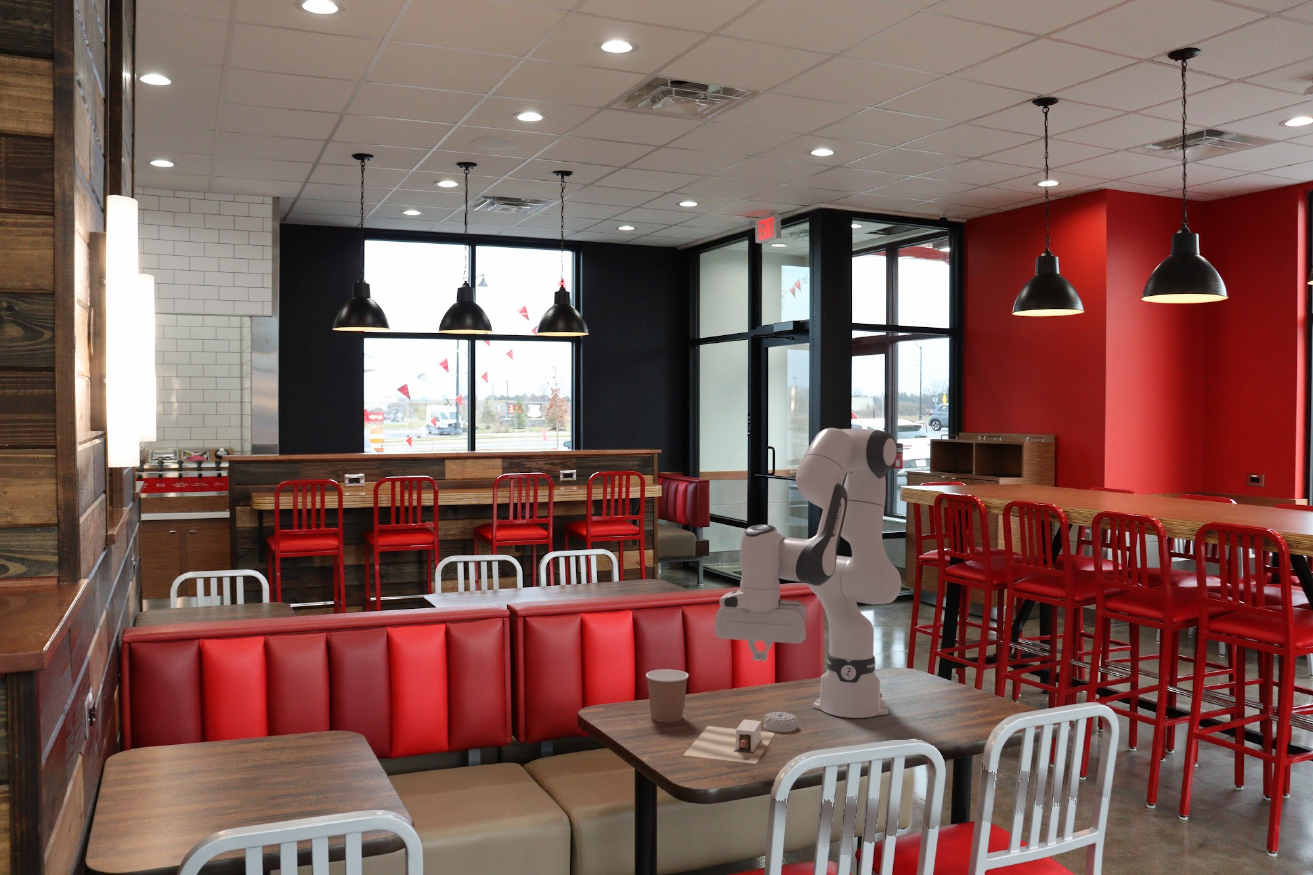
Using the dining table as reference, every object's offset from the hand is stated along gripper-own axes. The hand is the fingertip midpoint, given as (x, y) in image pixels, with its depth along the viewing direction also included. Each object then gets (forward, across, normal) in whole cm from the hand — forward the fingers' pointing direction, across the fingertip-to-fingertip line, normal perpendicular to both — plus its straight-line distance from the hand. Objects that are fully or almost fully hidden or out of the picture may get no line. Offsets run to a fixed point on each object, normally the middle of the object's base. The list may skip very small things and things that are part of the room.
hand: (760, 660), depth 228 cm
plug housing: (+18, +2, +5) cm, 19 cm away
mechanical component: (+21, -2, -13) cm, 25 cm away
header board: (+20, +6, +3) cm, 21 cm away
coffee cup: (+20, +25, -11) cm, 34 cm away
